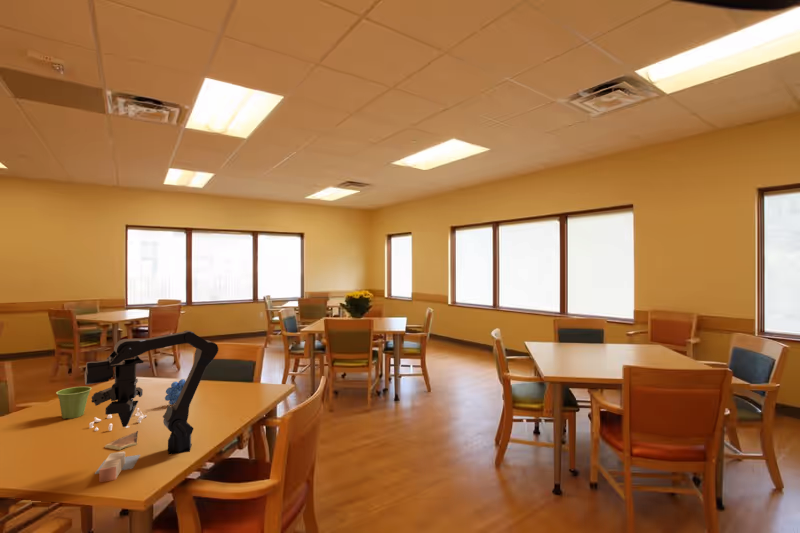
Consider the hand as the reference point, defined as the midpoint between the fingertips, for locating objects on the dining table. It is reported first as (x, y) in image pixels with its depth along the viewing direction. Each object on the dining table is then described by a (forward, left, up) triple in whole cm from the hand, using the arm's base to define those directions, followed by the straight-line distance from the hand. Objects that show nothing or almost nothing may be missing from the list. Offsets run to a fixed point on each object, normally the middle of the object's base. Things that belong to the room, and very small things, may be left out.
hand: (125, 426), depth 124 cm
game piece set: (+13, -44, -13) cm, 48 cm away
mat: (+2, -1, -13) cm, 13 cm away
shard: (+5, -19, -14) cm, 24 cm away
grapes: (-7, -61, -13) cm, 63 cm away
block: (+2, 0, -10) cm, 10 cm away
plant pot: (+33, -59, -13) cm, 69 cm away
